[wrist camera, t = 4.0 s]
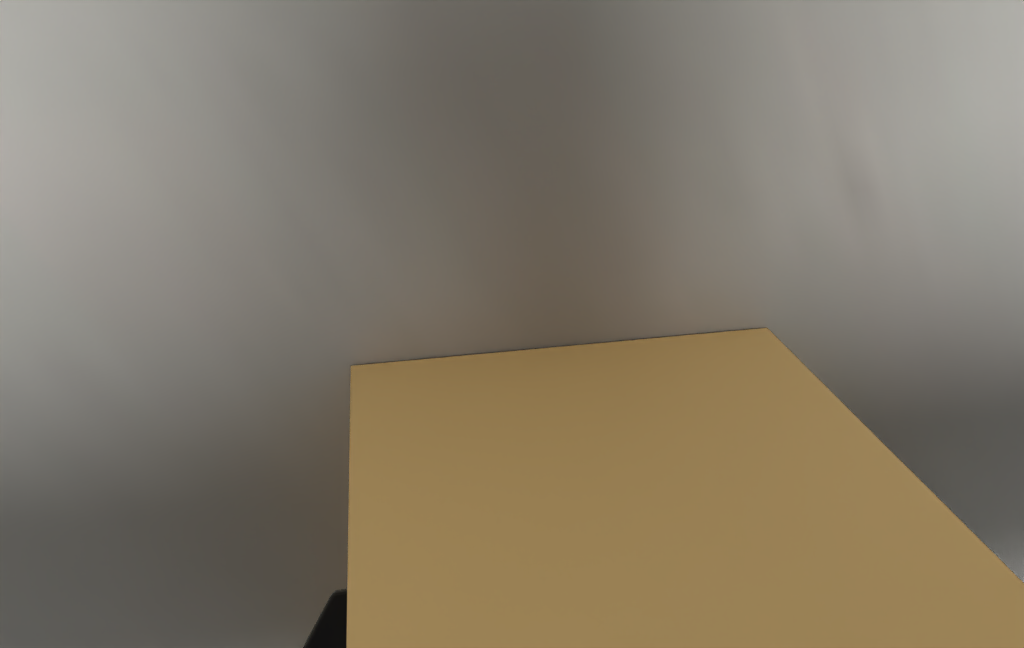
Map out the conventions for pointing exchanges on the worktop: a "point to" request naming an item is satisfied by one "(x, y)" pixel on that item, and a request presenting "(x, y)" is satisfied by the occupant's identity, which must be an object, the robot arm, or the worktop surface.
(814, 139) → the worktop surface
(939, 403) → the worktop surface
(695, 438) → the ochre cube
